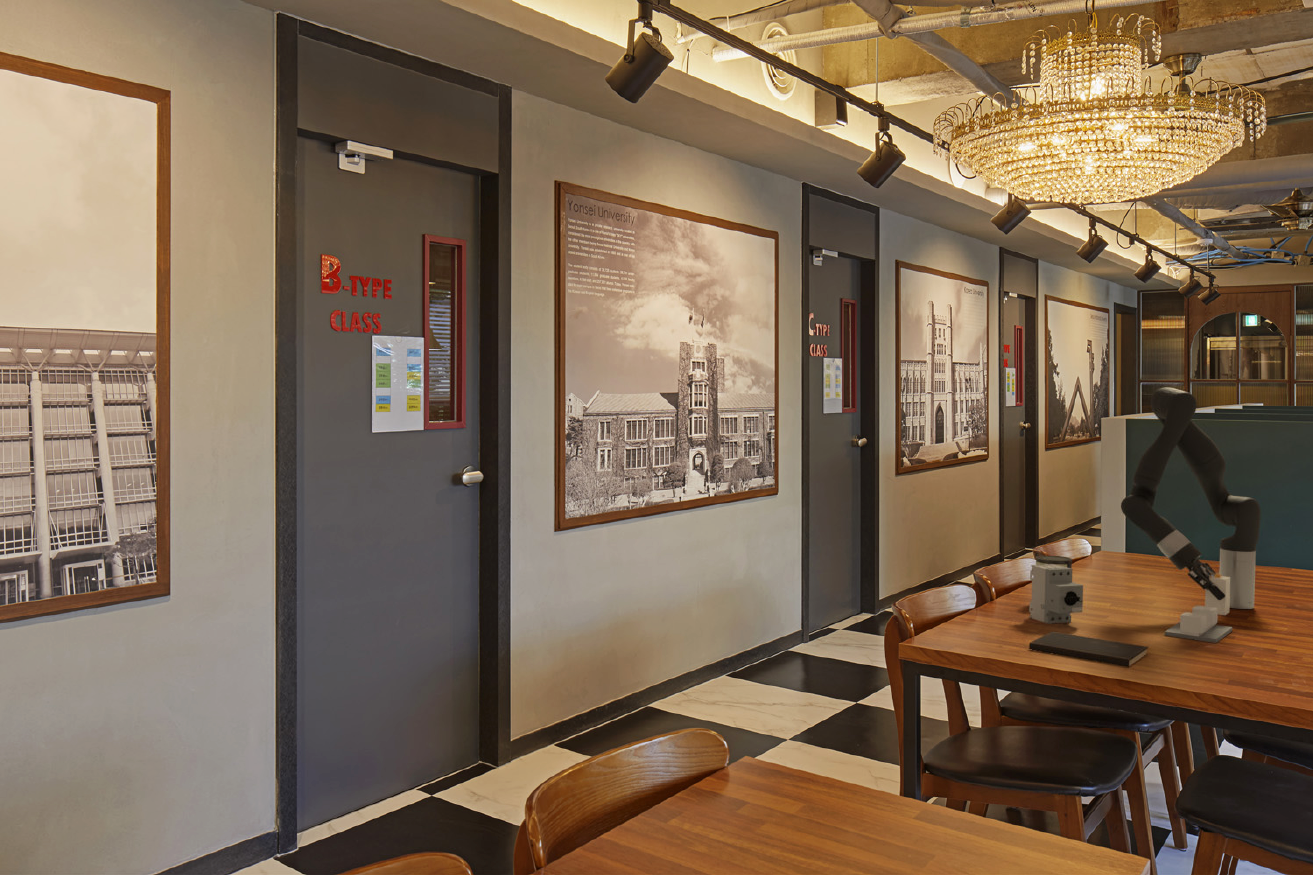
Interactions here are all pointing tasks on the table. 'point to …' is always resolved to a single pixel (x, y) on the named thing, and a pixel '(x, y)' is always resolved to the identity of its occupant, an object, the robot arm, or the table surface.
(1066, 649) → the hardcover book
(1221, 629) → the rail board
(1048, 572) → the circuit breaker
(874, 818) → the table surface
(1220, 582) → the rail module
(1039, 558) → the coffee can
